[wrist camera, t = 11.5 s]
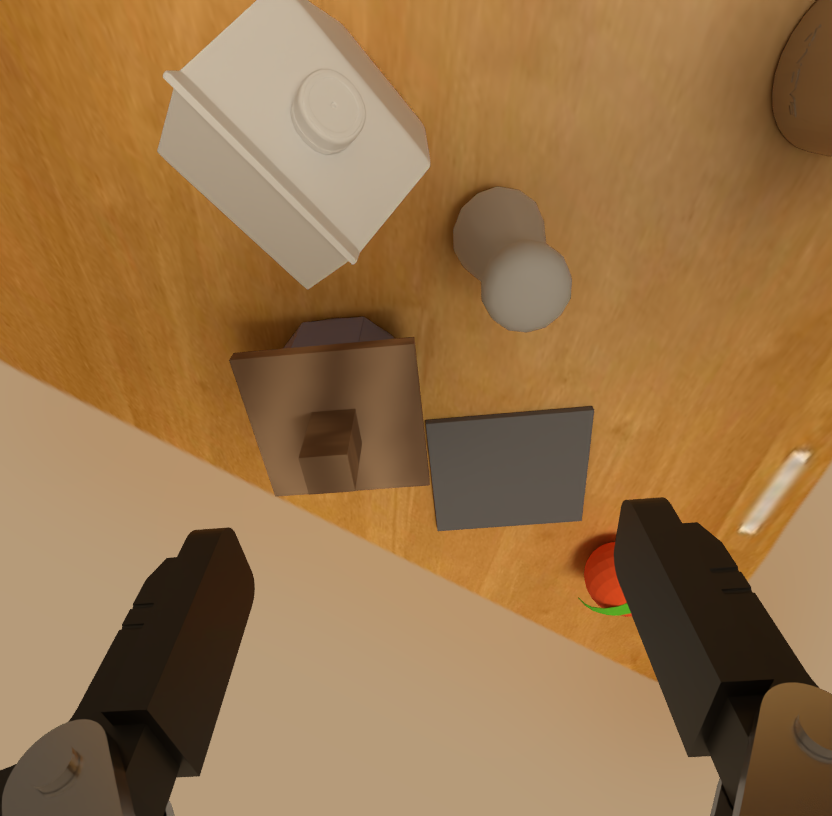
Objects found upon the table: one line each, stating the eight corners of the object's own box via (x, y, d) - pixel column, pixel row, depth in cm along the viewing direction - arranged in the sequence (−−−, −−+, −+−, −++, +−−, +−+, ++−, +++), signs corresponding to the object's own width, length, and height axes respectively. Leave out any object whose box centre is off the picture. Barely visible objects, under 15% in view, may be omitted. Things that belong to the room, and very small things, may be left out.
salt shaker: (443, 261, 36) (456, 344, 25) (458, 174, 32) (480, 224, 22) (524, 273, 36) (571, 358, 25) (546, 187, 33) (612, 243, 22)
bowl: (408, 309, 38) (407, 342, 33) (422, 430, 44) (423, 472, 39) (261, 323, 38) (240, 357, 34) (295, 441, 44) (281, 483, 40)
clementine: (574, 581, 55) (593, 642, 49) (558, 540, 51) (577, 601, 46) (649, 562, 53) (678, 623, 47) (638, 519, 50) (668, 579, 44)
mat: (592, 406, 42) (594, 410, 42) (579, 516, 49) (581, 520, 49) (425, 420, 43) (425, 424, 43) (437, 526, 50) (437, 531, 50)
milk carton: (347, 210, 34) (286, 331, 18) (261, 120, 31) (98, 170, 15) (425, 127, 31) (436, 183, 15) (340, 20, 28) (242, -48, 12)
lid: (414, 337, 33) (414, 384, 28) (429, 476, 39) (431, 535, 34) (233, 352, 33) (201, 402, 28) (278, 487, 40) (258, 546, 35)
